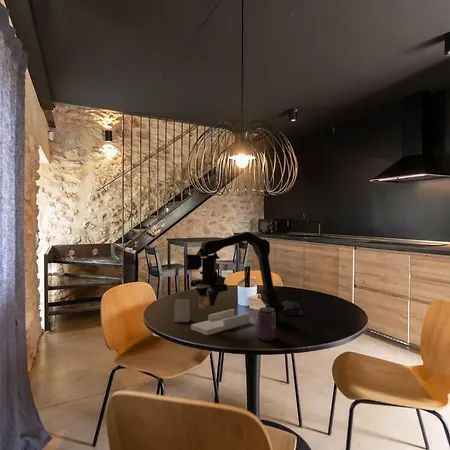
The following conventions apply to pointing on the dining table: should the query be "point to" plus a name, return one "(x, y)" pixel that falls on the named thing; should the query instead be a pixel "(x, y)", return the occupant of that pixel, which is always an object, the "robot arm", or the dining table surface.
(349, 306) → the dining table surface
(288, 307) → the dark slate chunk
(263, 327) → the beverage can
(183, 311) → the grey box
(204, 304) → the oak block
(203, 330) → the trap channel
